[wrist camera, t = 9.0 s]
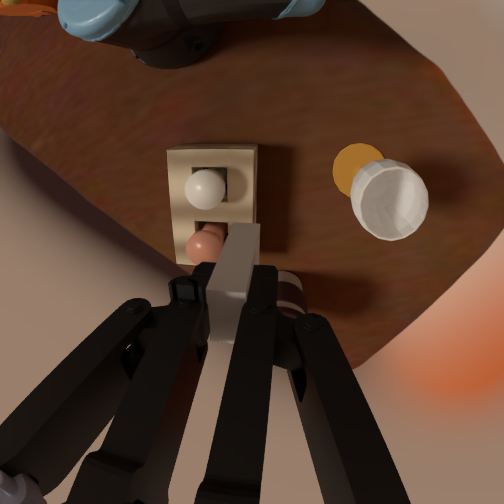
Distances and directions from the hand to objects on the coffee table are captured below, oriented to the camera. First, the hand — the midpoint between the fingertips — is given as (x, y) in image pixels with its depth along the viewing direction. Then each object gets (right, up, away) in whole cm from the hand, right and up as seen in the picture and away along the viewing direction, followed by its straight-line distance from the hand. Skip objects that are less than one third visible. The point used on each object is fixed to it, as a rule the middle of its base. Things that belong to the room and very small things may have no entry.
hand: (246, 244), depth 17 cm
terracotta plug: (-5, +4, +30) cm, 30 cm away
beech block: (-5, +8, +30) cm, 31 cm away
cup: (+17, +12, +25) cm, 33 cm away
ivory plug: (-5, +11, +27) cm, 30 cm away
